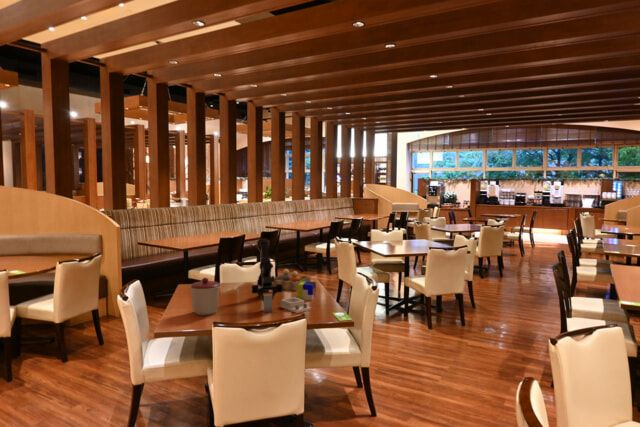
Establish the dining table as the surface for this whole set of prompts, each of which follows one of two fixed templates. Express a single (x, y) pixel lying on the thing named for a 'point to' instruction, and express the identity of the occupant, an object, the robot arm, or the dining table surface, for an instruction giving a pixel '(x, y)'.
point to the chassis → (294, 305)
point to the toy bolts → (287, 277)
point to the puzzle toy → (306, 290)
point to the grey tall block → (267, 302)
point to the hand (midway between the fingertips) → (267, 300)
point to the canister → (205, 296)
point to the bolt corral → (291, 284)
